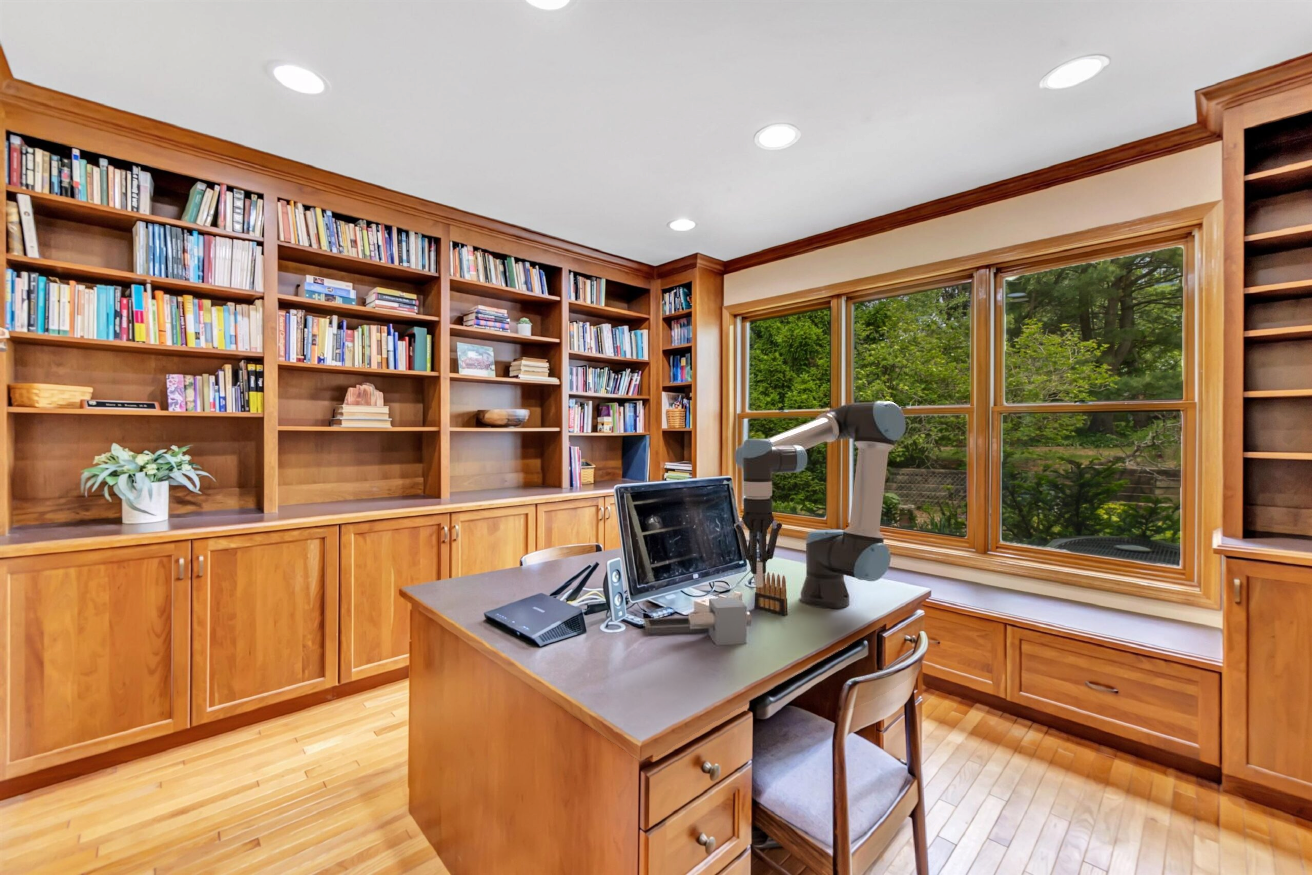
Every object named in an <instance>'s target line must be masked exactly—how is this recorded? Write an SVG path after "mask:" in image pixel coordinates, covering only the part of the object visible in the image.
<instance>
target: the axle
mask: <svg viewBox="0 0 1312 875" xmlns="http://www.w3.org/2000/svg"><path fill="white" fill-rule="evenodd" d="M751 616H752V615H751V613H750V611H749V610H748V611H747V627H751V626H752V617H751ZM687 617H688V624H689V628H690V629H700V628H715V613H697V612H695V613H692V612H691V613H688V616H687Z"/></svg>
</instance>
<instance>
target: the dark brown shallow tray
mask: <svg viewBox="0 0 1312 875" xmlns="http://www.w3.org/2000/svg"><path fill="white" fill-rule="evenodd" d="M643 623H644V628H645V631H646V632H645V633H646V635H647V636H652V635H654V636H655V635H657V636H658V635H677V634H679V635H680V634H681V635H682V634H698V633H699V634H700V633H701V634H702V633H704V634H705V633H709V628H700V629H690V628H689V624H688V616H680V617H679V616H678V617H655V618H654V617H651V618H650V617H649V618H644V622H643Z"/></svg>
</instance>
